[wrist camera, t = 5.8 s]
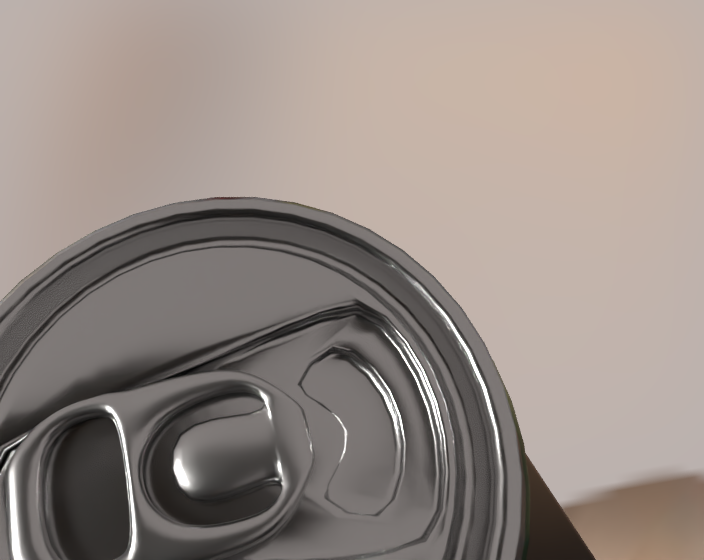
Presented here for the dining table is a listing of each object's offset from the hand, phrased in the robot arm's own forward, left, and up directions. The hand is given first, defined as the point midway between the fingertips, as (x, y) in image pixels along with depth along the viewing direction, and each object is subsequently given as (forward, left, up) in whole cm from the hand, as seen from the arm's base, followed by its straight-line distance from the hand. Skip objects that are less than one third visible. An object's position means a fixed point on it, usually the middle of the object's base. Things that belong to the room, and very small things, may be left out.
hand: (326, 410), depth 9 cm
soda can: (-2, 0, -8) cm, 8 cm away
